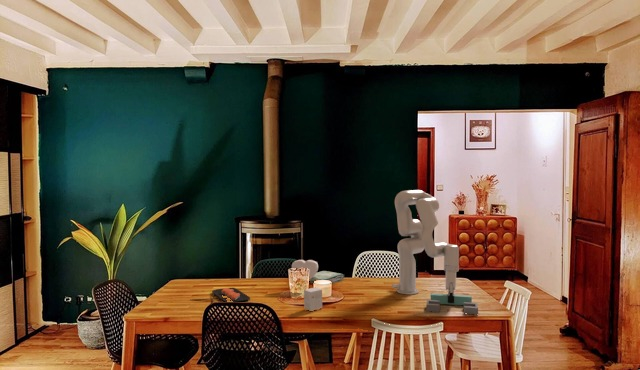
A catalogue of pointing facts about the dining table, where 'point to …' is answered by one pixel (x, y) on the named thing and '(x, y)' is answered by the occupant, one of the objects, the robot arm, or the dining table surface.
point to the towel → (327, 276)
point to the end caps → (435, 307)
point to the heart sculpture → (307, 266)
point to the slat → (457, 299)
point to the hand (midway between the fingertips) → (450, 301)
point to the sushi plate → (229, 295)
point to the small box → (313, 299)
